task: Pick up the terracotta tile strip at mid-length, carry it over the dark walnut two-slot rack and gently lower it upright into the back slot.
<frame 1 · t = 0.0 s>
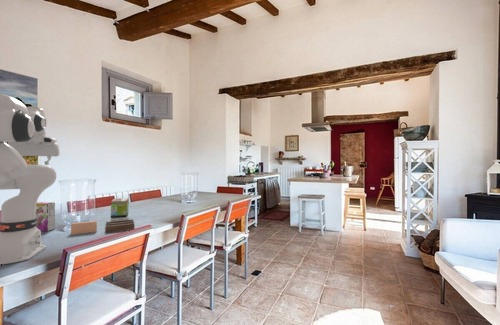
hand: (35, 164, 127), 39 cm above the table, tool pointing down, fingers open, 8 cm apart
tea box: (119, 220, 165), on the table
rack: (120, 228, 145), on the table
candy bar box: (42, 230, 140), on the table
tile strip: (84, 232, 136), on the table
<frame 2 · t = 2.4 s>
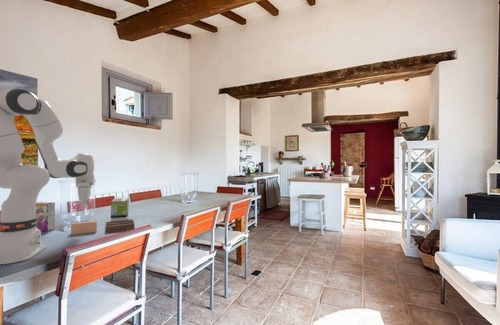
hand: (85, 206, 137), 15 cm above the table, tool pointing down, fingers open, 8 cm apart
nothing on the table moved.
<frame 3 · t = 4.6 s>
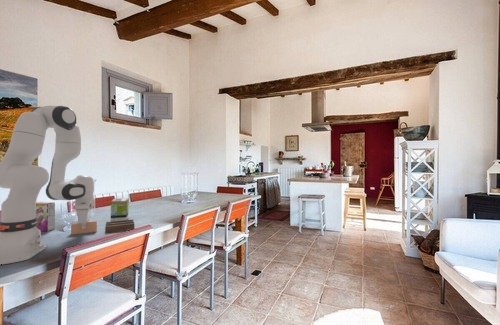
hand: (84, 227, 136), 3 cm above the table, tool pointing down, fingers closed on tile strip, 2 cm apart
tile strip: (84, 232, 136), on the table, touching gripper
everything else where it was.
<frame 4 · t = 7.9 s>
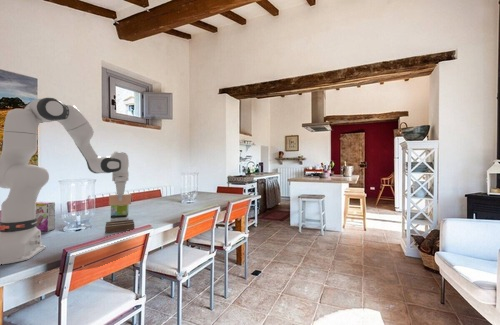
hand: (120, 200, 147), 17 cm above the table, tool pointing down, fingers closed on tile strip, 2 cm apart
tile strip: (120, 204, 147), point 14 cm above the table, touching gripper
everything else where it was.
when the fingers open (5 cm above the table, at t = 11.1 s): tile strip drops 1 cm, resting on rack.
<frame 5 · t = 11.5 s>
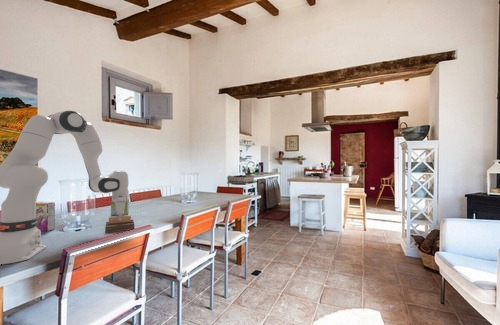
hand: (120, 219, 147), 5 cm above the table, tool pointing down, fingers open, 6 cm apart
tile strip: (119, 225, 147), point 1 cm above the table, touching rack
everything else where it was.
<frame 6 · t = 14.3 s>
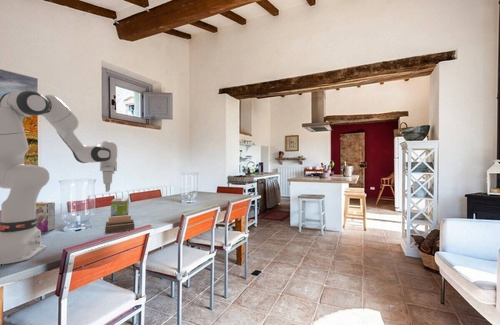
hand: (107, 190, 145), 23 cm above the table, tool pointing down, fingers open, 8 cm apart
nothing on the table moved.
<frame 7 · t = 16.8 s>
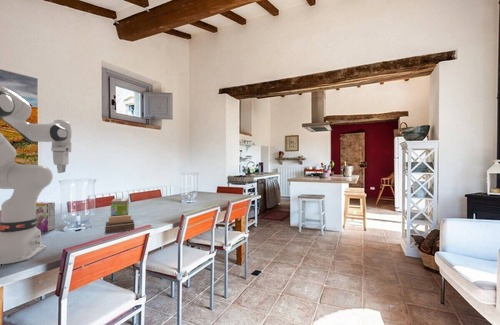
hand: (61, 172, 137), 34 cm above the table, tool pointing down, fingers open, 8 cm apart
nothing on the table moved.
at the end: tile strip 0.1 cm from the target spot on the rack, point 1.0 cm above the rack's base; tile strip tilted 0°; the gripper is holding nothing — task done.
